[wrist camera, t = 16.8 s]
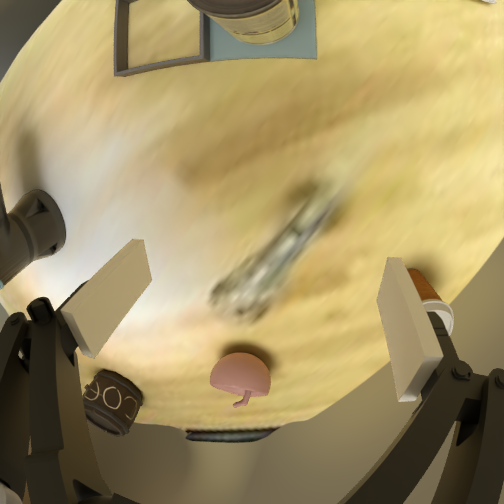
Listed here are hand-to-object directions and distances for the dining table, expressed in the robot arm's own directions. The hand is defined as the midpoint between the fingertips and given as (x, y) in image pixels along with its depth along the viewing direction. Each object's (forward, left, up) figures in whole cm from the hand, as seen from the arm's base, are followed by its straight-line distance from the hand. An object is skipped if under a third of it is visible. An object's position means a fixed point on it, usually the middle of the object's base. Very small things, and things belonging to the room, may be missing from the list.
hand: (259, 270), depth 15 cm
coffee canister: (-49, -66, -27) cm, 86 cm away
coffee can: (-4, +22, -26) cm, 35 cm away
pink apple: (-7, -40, -27) cm, 49 cm away
